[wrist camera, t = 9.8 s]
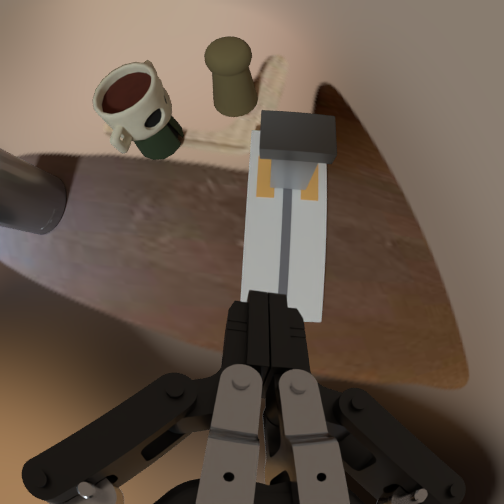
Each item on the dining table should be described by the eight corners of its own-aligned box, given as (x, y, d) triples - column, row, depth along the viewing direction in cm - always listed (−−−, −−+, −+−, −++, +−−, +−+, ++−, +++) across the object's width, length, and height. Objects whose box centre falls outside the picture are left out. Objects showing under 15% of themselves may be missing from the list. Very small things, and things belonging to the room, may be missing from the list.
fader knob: (314, 193, 32) (336, 154, 21) (260, 189, 32) (259, 149, 21) (314, 163, 32) (334, 116, 21) (262, 160, 33) (261, 110, 22)
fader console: (317, 319, 33) (321, 322, 31) (240, 315, 34) (239, 318, 31) (322, 142, 35) (325, 135, 33) (252, 137, 35) (251, 129, 33)
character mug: (175, 181, 35) (134, 136, 22) (127, 175, 36) (74, 135, 23) (197, 109, 36) (172, 47, 23) (151, 106, 36) (115, 51, 23)
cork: (249, 78, 36) (245, 24, 25) (263, 109, 36) (263, 56, 25) (208, 90, 36) (193, 38, 25) (219, 122, 36) (205, 72, 25)
